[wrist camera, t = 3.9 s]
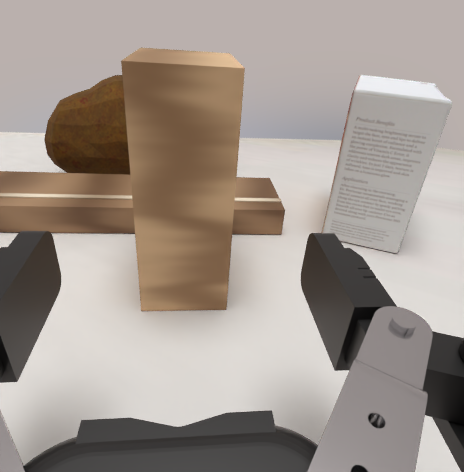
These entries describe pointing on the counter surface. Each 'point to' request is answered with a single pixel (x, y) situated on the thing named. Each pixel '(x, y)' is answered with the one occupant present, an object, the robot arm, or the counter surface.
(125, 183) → the walnut board
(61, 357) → the counter surface
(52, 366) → the counter surface
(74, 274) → the counter surface
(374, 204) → the small box
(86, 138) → the potato
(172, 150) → the tan block
